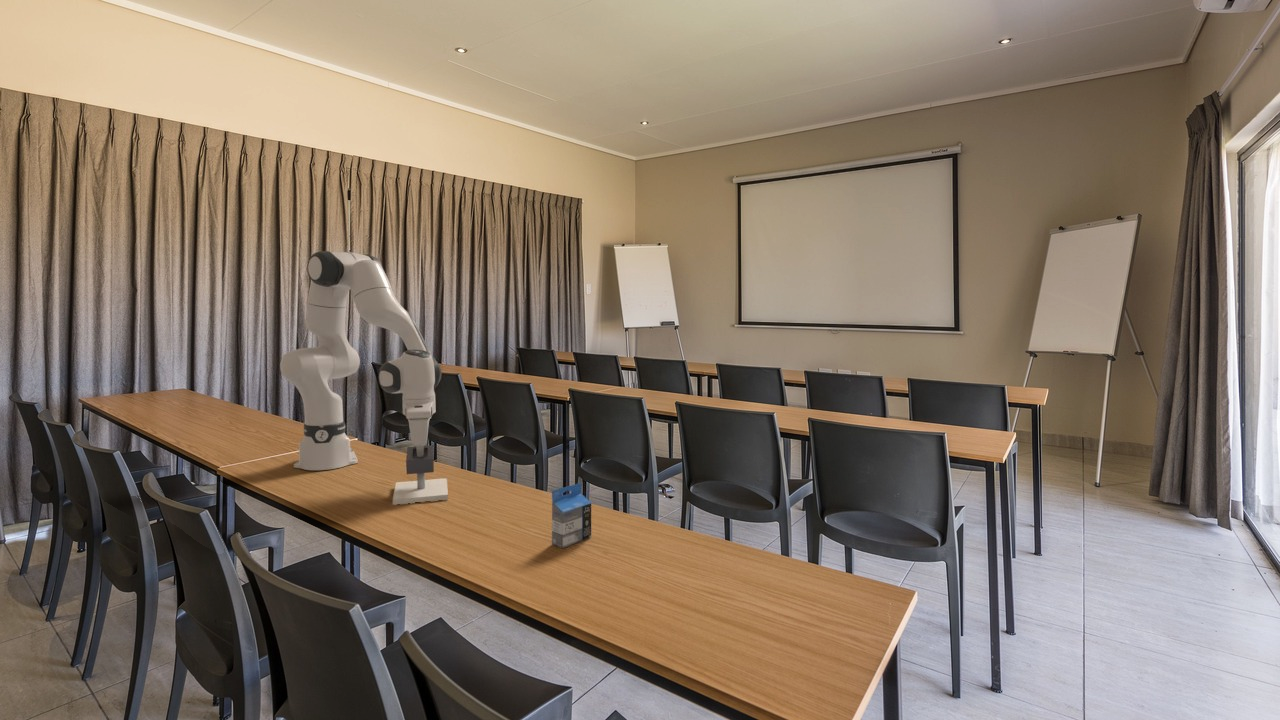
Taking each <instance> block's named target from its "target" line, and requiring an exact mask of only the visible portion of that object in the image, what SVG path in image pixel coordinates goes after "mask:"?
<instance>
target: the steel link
mask: <svg viewBox="0 0 1280 720" xmlns="http://www.w3.org/2000/svg"><path fill="white" fill-rule="evenodd" d="M406 449H407V450H406V459H405V463H406V464H405V465H406V468H405V469H406V475H414V474H415V475H417V474H418V473H425V474H429V473H435V466H434V465H435V463H434V462H435V461H434V445H432V444H431V445H426V446H424V455H423V456H422V457H418V456H417V449H416V447H414V446H407V447H406Z"/></svg>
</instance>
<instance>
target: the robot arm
mask: <svg viewBox="0 0 1280 720" xmlns="http://www.w3.org/2000/svg"><path fill="white" fill-rule="evenodd" d="M306 267H307V275H308V277H309V279H310V280H311V282H310V286H309V291H308V293H307V294H308V296H307V303H306V305H307V306H306V316H305V317H306V318H305V326H306V329H307V330H308V331H309V332H310V333H312V334H313V335H315V336H316V337H317V341H318V346H315V347H314V346H313V347H302V348H301V347H300V348H297V349H294V350H290V351H288V352H286V353H284V354H283V356H282V358H281V360H280V363H279V369H280V373H281V374H282V376H283V377H284V379H286V380H287V381H288V382H290V383H291V384H292V385H294V386H295V388H296V389H297V390H298V392H299V394H300V396H301V399H302V403H303V413H304V423H303V430H302V431H303V435H304V437H303V438H302V439H301V440H300V441H299V443H298V446H299V447H298V461H296V462H295V463H294V464H293V468H295V469H302V470H303V471H304V470H306V471H327V470H328V471H329V470H334V469H339V468H343V467H347V466H351V465H354V464H358V462H359V461H358V457H357V455H356V453H355V451H354V450H353V448H352V447H351V439H350V438H349V436H347V434H346V423H345V422H346V421H345V420H344V409H343V398H342V397H341V396H340V394H338V393H336V392H334V391H332V390H331V388H330V386H329V383H328V381H331V380H335V379H343V378H346V377H348V376H351V375H354V374H355V373H357V371H358V370H359V369H360V364H361V358H360V356H359V353H358V351H357V350H356V349H355V348H354V347H352V346H351V343H350V342H349V340H348V337H347V332H346V318H347V317H346V316H347V315H346V313H347V303H348V302H347V301H348V292H349V291H351V294H352V298H353V301H354V304H355V308H356V311H357V312H358V314H359V316H360V317H361V318H362V319H363V320H364V321H365V322H367V323H368V324H371V325H373V326H376V327H379V328H383V329H386V330H389V331H391V332H393V333H395V334H397V335H398V336H399V338H400V339H402V341H403V343H404V345H405V348H406V349H407V350H405V351H404V352H403V353H402V354H401V356H400V357H397V358H395V359H392V360H389V361H385V362H384V363H383V364H382V365H380V368H379V370H378V373H377V378H378V379H377V381H378V385H379V386H380V388H381V389H382V390H383V391H384V392H385V393H388V394H402V397H401V398H402V415H404V416H405V418H406V419H407V420H408V424H409V425H408V427H409V433H410V440H411V445H412V447H416V449H417V456H418V457H422V456H423V455H424V446H427V443H428V434H429V425H430V424H429V423H430V419H432V416H433V415H434V414H435V413H436V412H437V411H436V407H437V406H436V405H437V404H436V392H435V389H436V387H438V385H439V383H440V381H441V379H442V375H443V374H442V368H441V366H440V365H439V363H438V361H437V360H436V358H435V357H434V356H433V354H432V352H431V351H430V349H429V346H428V344H427V343H426V341H425V339H424V336H423V335H422V333H421V331H420V328H419V327H418V325H417V323H416V320H415V319H414V318H413V315H411V313H410V312H409V311H408V310H406V309H405V308H404V307H403V306H402V304H400V302H399V300H398V299H397V298H396V295H395V293H394V291H393V289H392V286H391V283H390V280H389V278H388V276H387V273H385V272H386V271H385V270H384V267H383V264H382V262H381V261H380V259H378V257H375V256H373V255H370V254H362V253H357V252H352V251H351V252H350V251H345V252H344V251H342V252H341V251H329V250H325V251H324V250H321V251H317V252H314V253H313V254H312V255H311V256H310V258H309V259H308V262H307V266H306Z"/></svg>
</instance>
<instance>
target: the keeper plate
mask: <svg viewBox="0 0 1280 720" xmlns="http://www.w3.org/2000/svg"><path fill="white" fill-rule="evenodd" d="M425 474H426V473H418V474H416V480H413V481H412V480H409V481H408V480H407V481H397V482H395V487H394V491H393V496H392V506H398V505H397V504H400V505H408V503H410V504H416V503H415V502H421V503H425V502H424V501H431V502H439V501H438V500H442V501H449V493H448V492H449V491H448V478H444V477H443V478H433V479H425V478H426V476H425Z"/></svg>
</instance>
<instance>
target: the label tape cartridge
mask: <svg viewBox="0 0 1280 720" xmlns="http://www.w3.org/2000/svg"><path fill="white" fill-rule="evenodd" d="M581 485H582V484H581V482H579V483H575V484H571V485H567V486H565V487H561V488H558V489H554V490H551V500H552V502H551V504H552V506H551V511H552V512H551V521H552V522H551V544H552V545H553V546H555V547H558V548H560V549H565V548H568V547H570V546H572V545H574V544H575V545H576V544H578V543H580V542H583V541H585V540H587V539H590V538H592V502H591V501H590V500H588V498H586V496H585V495H583V494H582V491H581V490H582V488H581ZM566 491H567V492H570V493H567V494H564V493H566Z"/></svg>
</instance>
